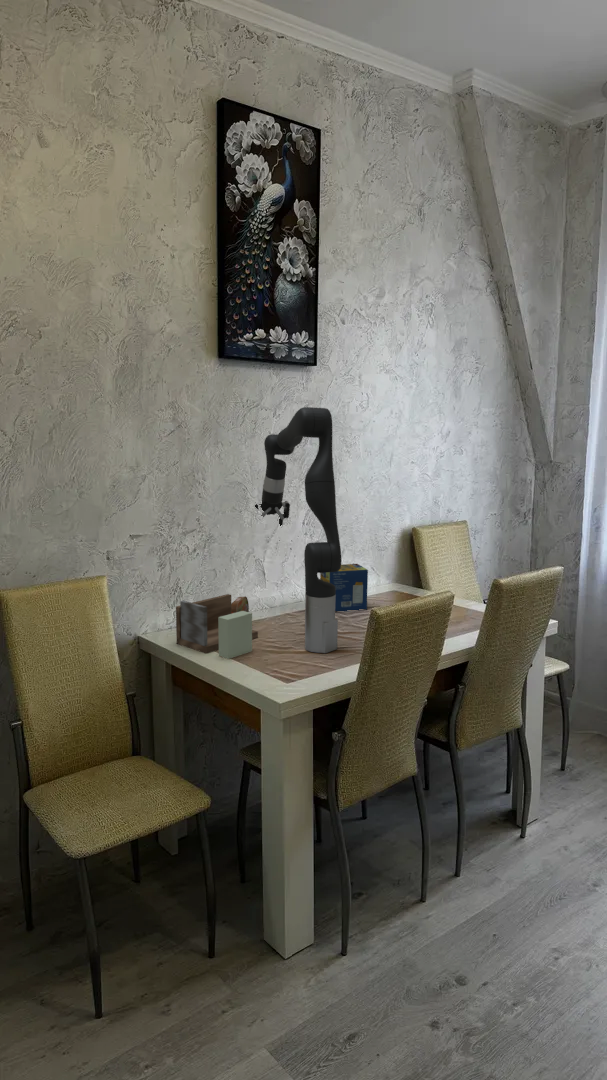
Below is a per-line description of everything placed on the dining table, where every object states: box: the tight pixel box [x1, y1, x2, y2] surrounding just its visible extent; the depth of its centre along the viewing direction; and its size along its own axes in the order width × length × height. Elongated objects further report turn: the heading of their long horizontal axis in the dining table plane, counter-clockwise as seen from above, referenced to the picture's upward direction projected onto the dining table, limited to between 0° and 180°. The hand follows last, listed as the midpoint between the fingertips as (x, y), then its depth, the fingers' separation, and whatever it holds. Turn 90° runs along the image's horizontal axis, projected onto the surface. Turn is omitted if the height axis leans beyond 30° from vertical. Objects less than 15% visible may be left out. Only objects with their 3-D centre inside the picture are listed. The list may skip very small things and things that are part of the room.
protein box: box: [319, 563, 369, 612], centre depth 278 cm, size 10×15×16 cm
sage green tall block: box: [218, 611, 253, 660], centre depth 225 cm, size 4×10×12 cm, turn 139°
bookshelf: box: [175, 593, 259, 654], centre depth 238 cm, size 14×22×14 cm, turn 138°
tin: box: [231, 596, 250, 614], centre depth 259 cm, size 15×3×8 cm, turn 168°
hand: (268, 528), depth 276 cm, fingers open, 8 cm apart
